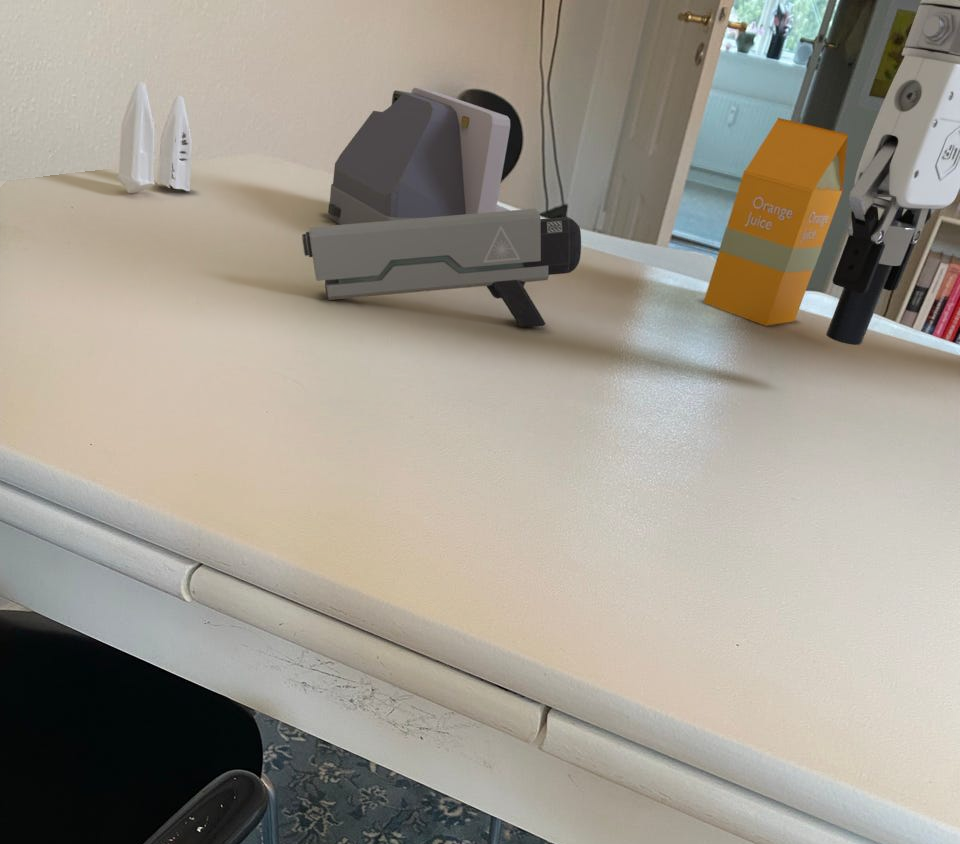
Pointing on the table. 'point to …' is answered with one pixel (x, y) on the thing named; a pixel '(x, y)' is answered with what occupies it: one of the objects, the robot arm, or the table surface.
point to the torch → (861, 306)
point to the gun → (446, 256)
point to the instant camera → (421, 161)
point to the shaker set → (141, 145)
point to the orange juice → (779, 223)
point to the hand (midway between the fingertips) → (864, 285)
